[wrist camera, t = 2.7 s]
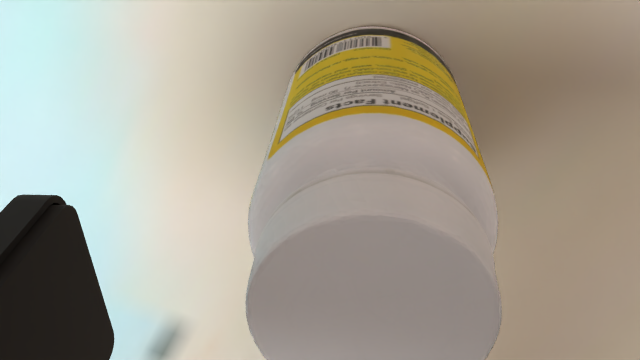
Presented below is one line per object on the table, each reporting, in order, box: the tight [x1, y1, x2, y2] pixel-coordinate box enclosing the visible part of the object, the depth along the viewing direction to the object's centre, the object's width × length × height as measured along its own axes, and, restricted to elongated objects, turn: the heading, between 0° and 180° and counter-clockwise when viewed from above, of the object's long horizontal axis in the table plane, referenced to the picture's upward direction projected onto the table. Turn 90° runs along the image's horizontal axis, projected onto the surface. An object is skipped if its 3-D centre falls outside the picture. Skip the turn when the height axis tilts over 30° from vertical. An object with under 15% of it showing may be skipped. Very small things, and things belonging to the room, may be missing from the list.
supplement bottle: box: [246, 26, 502, 360], centre depth 13 cm, size 5×5×8 cm
